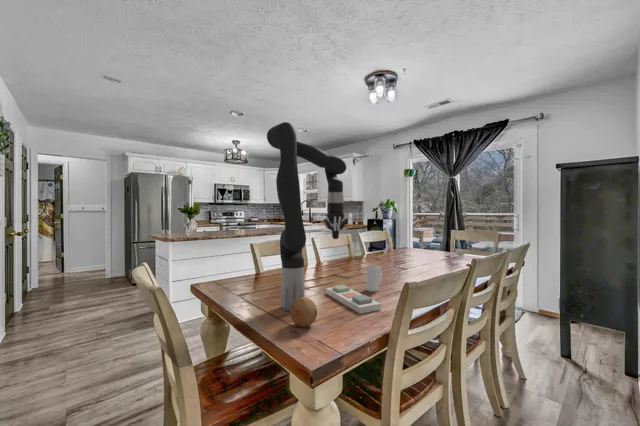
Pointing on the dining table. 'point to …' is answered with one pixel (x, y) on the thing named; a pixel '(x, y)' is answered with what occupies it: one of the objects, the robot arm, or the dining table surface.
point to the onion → (303, 312)
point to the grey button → (362, 299)
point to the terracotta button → (350, 295)
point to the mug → (373, 277)
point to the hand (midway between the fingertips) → (335, 238)
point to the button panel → (353, 305)
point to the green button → (341, 288)
